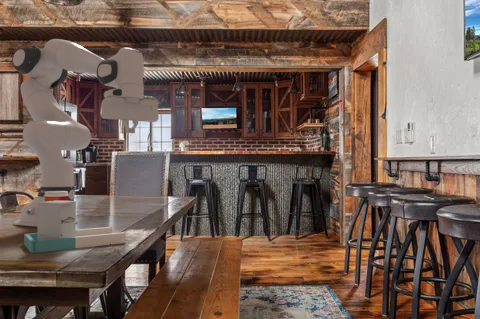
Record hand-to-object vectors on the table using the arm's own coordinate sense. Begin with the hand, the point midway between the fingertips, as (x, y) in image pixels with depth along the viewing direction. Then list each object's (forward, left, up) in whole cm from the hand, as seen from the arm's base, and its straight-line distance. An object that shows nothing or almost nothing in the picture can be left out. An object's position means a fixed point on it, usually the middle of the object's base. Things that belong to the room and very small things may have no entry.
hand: (130, 133), depth 144 cm
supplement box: (-8, -30, -34) cm, 46 cm away
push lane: (-4, -26, -34) cm, 43 cm away
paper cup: (-19, -14, -34) cm, 42 cm away
